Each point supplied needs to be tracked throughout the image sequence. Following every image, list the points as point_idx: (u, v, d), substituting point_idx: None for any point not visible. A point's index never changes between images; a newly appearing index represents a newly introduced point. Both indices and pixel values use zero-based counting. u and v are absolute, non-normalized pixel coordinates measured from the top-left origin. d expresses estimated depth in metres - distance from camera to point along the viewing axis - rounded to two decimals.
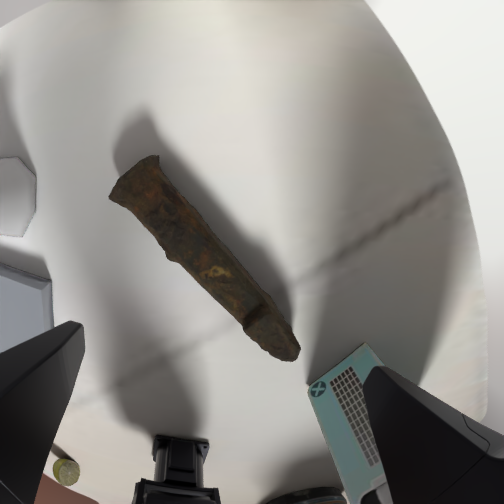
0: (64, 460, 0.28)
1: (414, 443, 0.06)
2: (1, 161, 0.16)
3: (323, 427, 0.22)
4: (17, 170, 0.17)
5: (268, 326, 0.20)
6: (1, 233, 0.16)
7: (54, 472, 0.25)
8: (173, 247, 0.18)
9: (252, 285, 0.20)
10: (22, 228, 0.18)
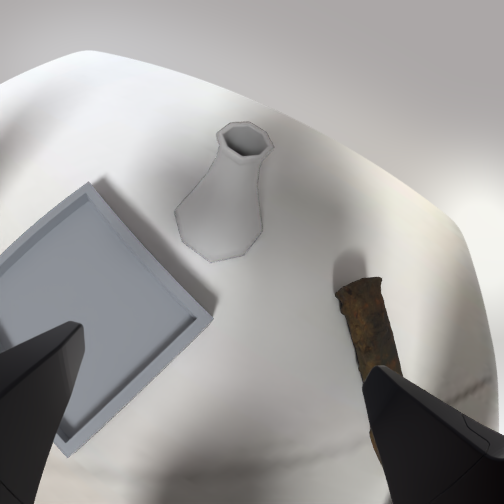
0: None
1: (414, 443, 0.06)
2: None
3: None
4: None
5: None
6: (220, 235, 0.21)
7: None
8: (380, 345, 0.20)
9: None
10: (223, 255, 0.23)
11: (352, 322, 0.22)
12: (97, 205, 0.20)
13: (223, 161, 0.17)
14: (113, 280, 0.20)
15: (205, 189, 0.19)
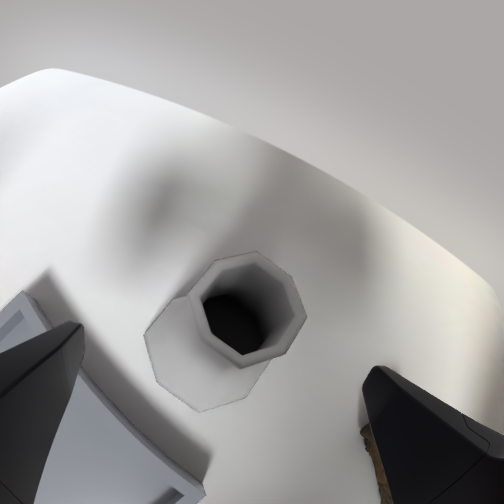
0: None
1: (414, 443, 0.06)
2: None
3: None
4: None
5: None
6: (209, 397, 0.13)
7: None
8: None
9: None
10: (216, 405, 0.14)
11: (379, 465, 0.14)
12: (34, 332, 0.12)
13: None
14: (72, 435, 0.11)
15: (180, 345, 0.11)
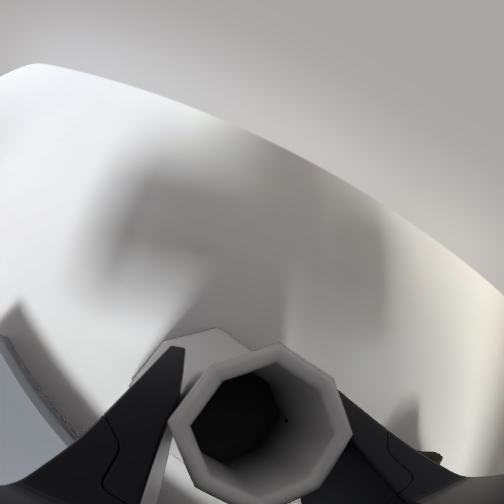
0: None
1: None
2: (243, 346, 0.14)
3: None
4: None
5: None
6: None
7: None
8: None
9: None
10: None
11: None
12: (4, 381, 0.09)
13: (202, 456, 0.05)
14: None
15: None
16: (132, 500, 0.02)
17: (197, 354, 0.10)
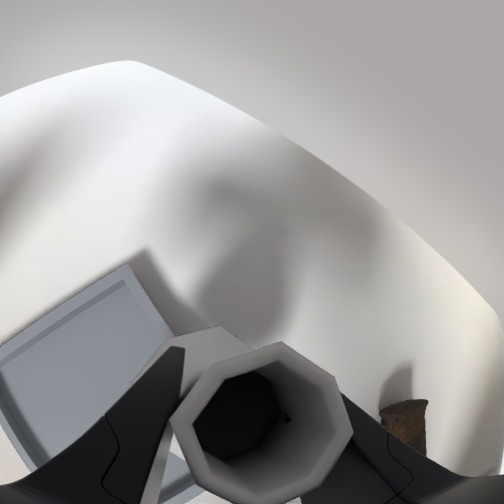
0: None
1: None
2: (245, 345, 0.14)
3: None
4: None
5: None
6: None
7: None
8: None
9: None
10: None
11: None
12: (137, 300, 0.17)
13: (204, 455, 0.05)
14: None
15: None
16: (132, 500, 0.02)
17: (199, 352, 0.10)
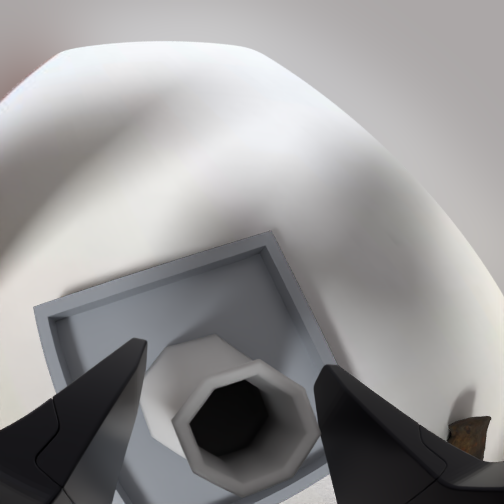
0: None
1: (360, 454, 0.05)
2: (238, 352, 0.15)
3: None
4: None
5: None
6: None
7: None
8: None
9: None
10: None
11: None
12: (279, 270, 0.17)
13: (199, 449, 0.06)
14: None
15: (172, 424, 0.09)
16: (59, 478, 0.02)
17: (196, 361, 0.11)
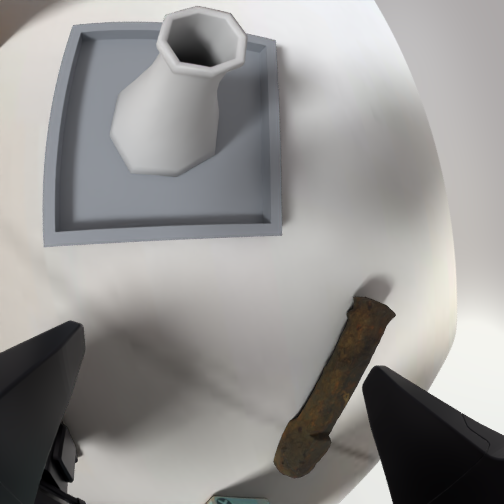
0: None
1: (414, 443, 0.06)
2: None
3: None
4: (216, 128, 0.17)
5: (323, 448, 0.21)
6: (144, 148, 0.14)
7: None
8: (356, 365, 0.22)
9: None
10: (148, 170, 0.16)
11: (350, 329, 0.23)
12: (268, 63, 0.18)
13: (161, 59, 0.08)
14: (228, 131, 0.18)
15: (142, 84, 0.11)
16: None
17: None
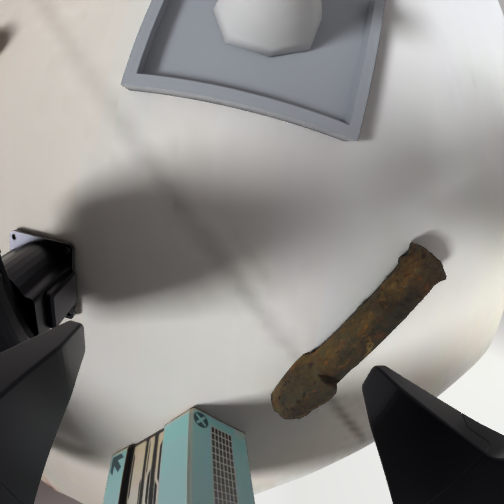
0: None
1: (414, 443, 0.06)
2: None
3: (192, 453, 0.20)
4: (316, 26, 0.14)
5: (326, 395, 0.21)
6: (243, 17, 0.12)
7: None
8: (392, 313, 0.20)
9: None
10: (242, 42, 0.14)
11: (397, 274, 0.21)
12: None
13: None
14: (328, 35, 0.15)
15: None
16: None
17: None
